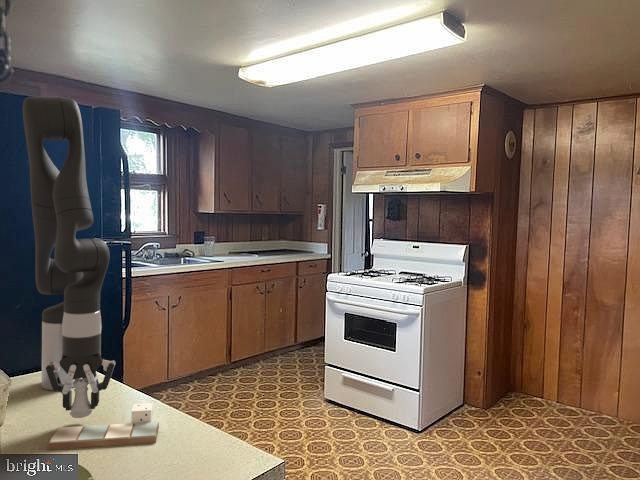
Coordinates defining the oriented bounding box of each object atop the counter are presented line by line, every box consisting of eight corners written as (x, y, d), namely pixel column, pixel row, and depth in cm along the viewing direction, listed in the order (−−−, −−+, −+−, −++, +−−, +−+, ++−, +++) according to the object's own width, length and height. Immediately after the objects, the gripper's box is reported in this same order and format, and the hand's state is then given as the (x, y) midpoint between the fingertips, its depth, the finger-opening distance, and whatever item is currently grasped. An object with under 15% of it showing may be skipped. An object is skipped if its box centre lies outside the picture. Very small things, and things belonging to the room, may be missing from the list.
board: (58, 433, 102) (58, 426, 102) (158, 427, 107) (158, 421, 107) (47, 449, 96) (47, 442, 96) (155, 442, 100) (156, 435, 100)
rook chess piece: (83, 419, 105) (83, 383, 104) (64, 417, 105) (65, 380, 105) (96, 411, 109) (97, 376, 108) (78, 408, 110) (78, 373, 109)
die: (133, 421, 110) (134, 403, 110) (152, 420, 111) (153, 402, 110) (131, 429, 106) (131, 410, 106) (150, 428, 107) (151, 409, 107)
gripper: (39, 336, 100) (39, 418, 102) (114, 335, 104) (113, 413, 105) (50, 327, 108) (49, 403, 109) (120, 326, 111) (118, 399, 112)
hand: (81, 408), depth 107 cm, fingers closed on rook chess piece, 4 cm apart
